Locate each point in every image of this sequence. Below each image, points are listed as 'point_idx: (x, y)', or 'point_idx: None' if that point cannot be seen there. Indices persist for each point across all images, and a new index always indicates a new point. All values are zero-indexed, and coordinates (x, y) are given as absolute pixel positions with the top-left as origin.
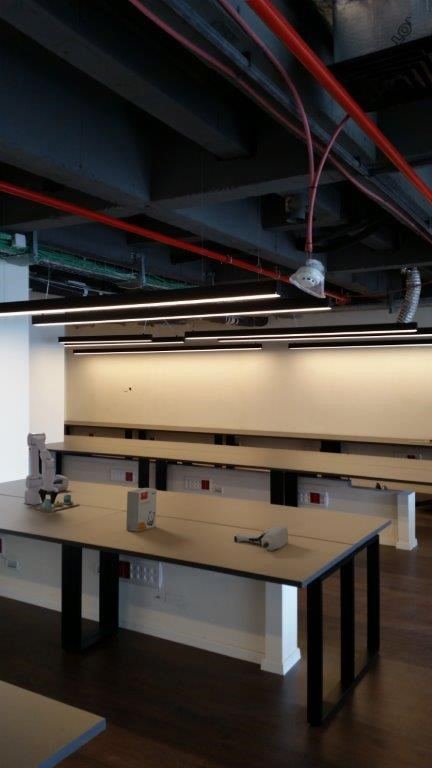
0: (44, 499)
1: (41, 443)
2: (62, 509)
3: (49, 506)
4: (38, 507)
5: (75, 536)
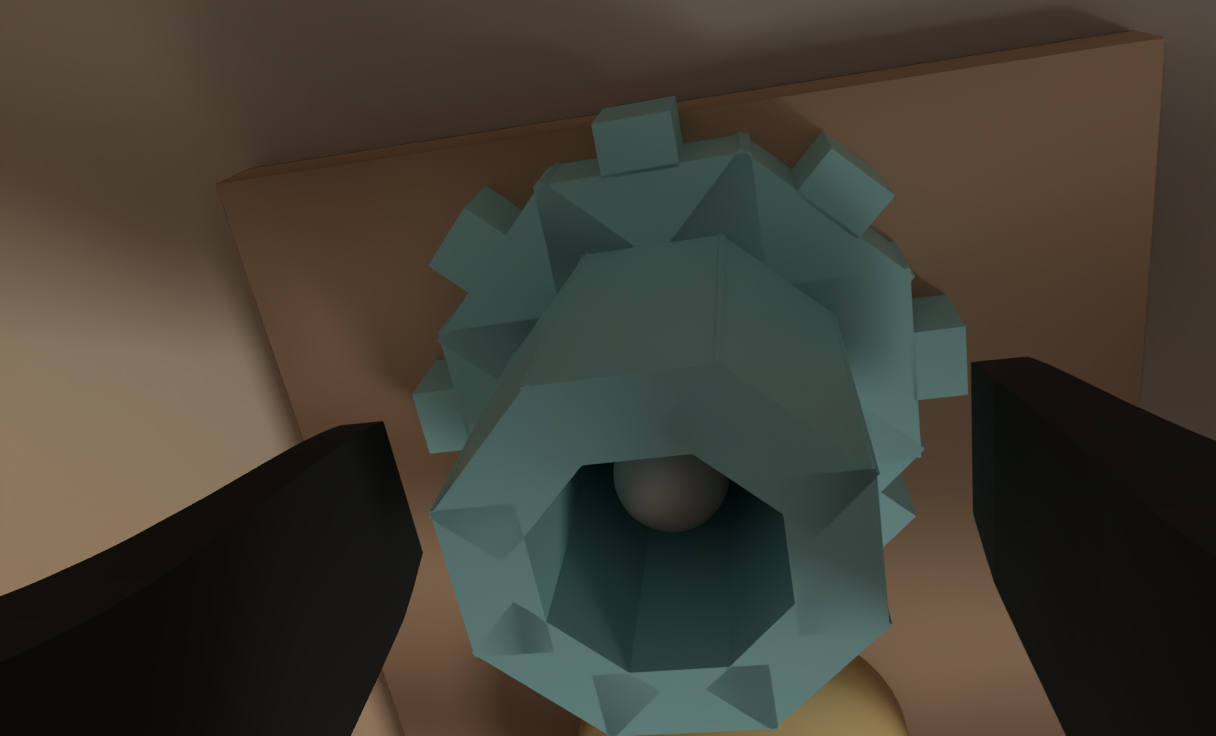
0: (796, 437)
1: None
2: None
3: (508, 357)
4: (1117, 196)
5: None
